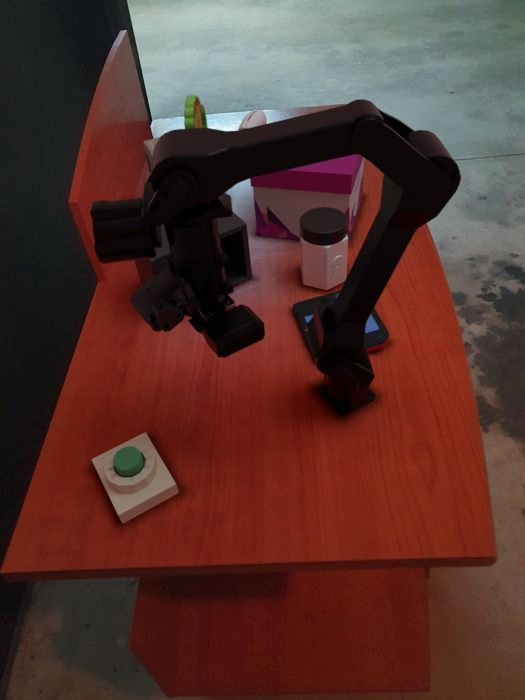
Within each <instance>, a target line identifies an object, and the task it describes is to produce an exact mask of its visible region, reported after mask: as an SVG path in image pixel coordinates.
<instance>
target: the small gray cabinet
mask: <svg viewBox="0 0 525 700" xmlns="http://www.w3.org/2000/svg"><path fill="white" fill-rule="evenodd" d="M217 224H218V231H219V237H220V244H221V250H222V251H223V252H224V253H225V254H226V255H227V256H228V257H229V261H230V265H227V266H225V267H224V271H225V278H226V279H227V280H228V281H229V282H230V283H231V284H232V285H233V288H235V287H237V286H239V285H241V284H244V283H246V282H248V281H251V280H253V271H252V264H251V263H252V262H251V253H250V243H249V233H248V223H247V222H246V221H244V220H243V219H242V218H241V217H240V216H239V215H238V214H236V213H235V212H234V211H233V215H232V216H231V217H224V218H217ZM160 226H161V232H162V248H155V249H156V257H153V258H150V259H142V260H134V263H135V268H136V270H137V271H136V272H137V274H138V278H139V281H140V285H141V286H142V285H143V284H145V283H146V282H147V281H148V280H150V279H151V278H152V277H154V276H153V272H152V268H151V267H152V265H153V263H154V262H155V260H156V259H157V258H160V257H162V256H165V255H167V254H170V249H169V245H168V240H167V236H166V231H165V227H164V224H163V225H160Z"/></svg>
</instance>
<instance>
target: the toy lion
mask: <svg viewBox="0 0 525 700" xmlns="http://www.w3.org/2000/svg"><path fill="white" fill-rule="evenodd" d="M185 98H186V99H185V101H184V109H183V116H184V120H183V121H184V122H183V123H184V125H183V126H184V129H191V128H209V127H208V126H209V125H208V120H207V119H208V118H207V113H206V109H205V105H203V104H202V103H201V100H200V97H199V95H196V94H191V95H190V94H188V95H186V97H185Z"/></svg>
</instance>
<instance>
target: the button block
mask: <svg viewBox="0 0 525 700" xmlns="http://www.w3.org/2000/svg"><path fill="white" fill-rule="evenodd" d="M128 446H132V447H136V448H137V449H139V451H140V452H141V455H142V457H143V460H144V465H143V468H142V470H141V471H140V472H139V473H138V474H136V475H134V476H132V477H123V476H121V475H120V474H118V472H117V470H116V468H115V466H114V463H113V458H114V456H115V454H116V453H117V452H118V451H119V450H120V449H122V448H124V447H128ZM91 462H92V464H93V466H94V468H95V470H96V472H97V474H98V476H99V478H100V480H101V483H102V485H103V487H104V489H105V491H106V493H107V495H108V498H109V499H110V502H111V503H112V505H113V508H114V510H115V512H116V514H117V517H118V519H119V520H120V522H121V524H122V525H123V524H125V523H127V522H129V521H130V520H132V519H134V518H136V517H138V516H140V515H142V513H145V512H146V511H148V510H151V509H152V508H154V507H156V506H157V505H159V504H161V503H163V502H165V501H166V500H169V499H170V498H172V497H174V496H176V495H178V494H179V493H180V492H179V489H178V486H177V483H176V481H175V479H174V478H173V476H172V474H171V472H170V471H169V470H168V468H167V466H166V463H164V461H163V459H162V457H161V456H160V453H159V452H158V451H157V449H156V447H155V446H154V444H153V442H152V441H151V439H150V437H149V436H148V434H147V432H146V431H145V432H143V433H141V434H139V435H137V436H135V437H133V438H131V439H129V440H127V441H125V442H123V443H121V444H119V445H117V446H115V447H112V448H111V449H109V450H106V451H105V452H103V453H101V454H99V455H97V456H95V457H93V458H92V459H91Z"/></svg>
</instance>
